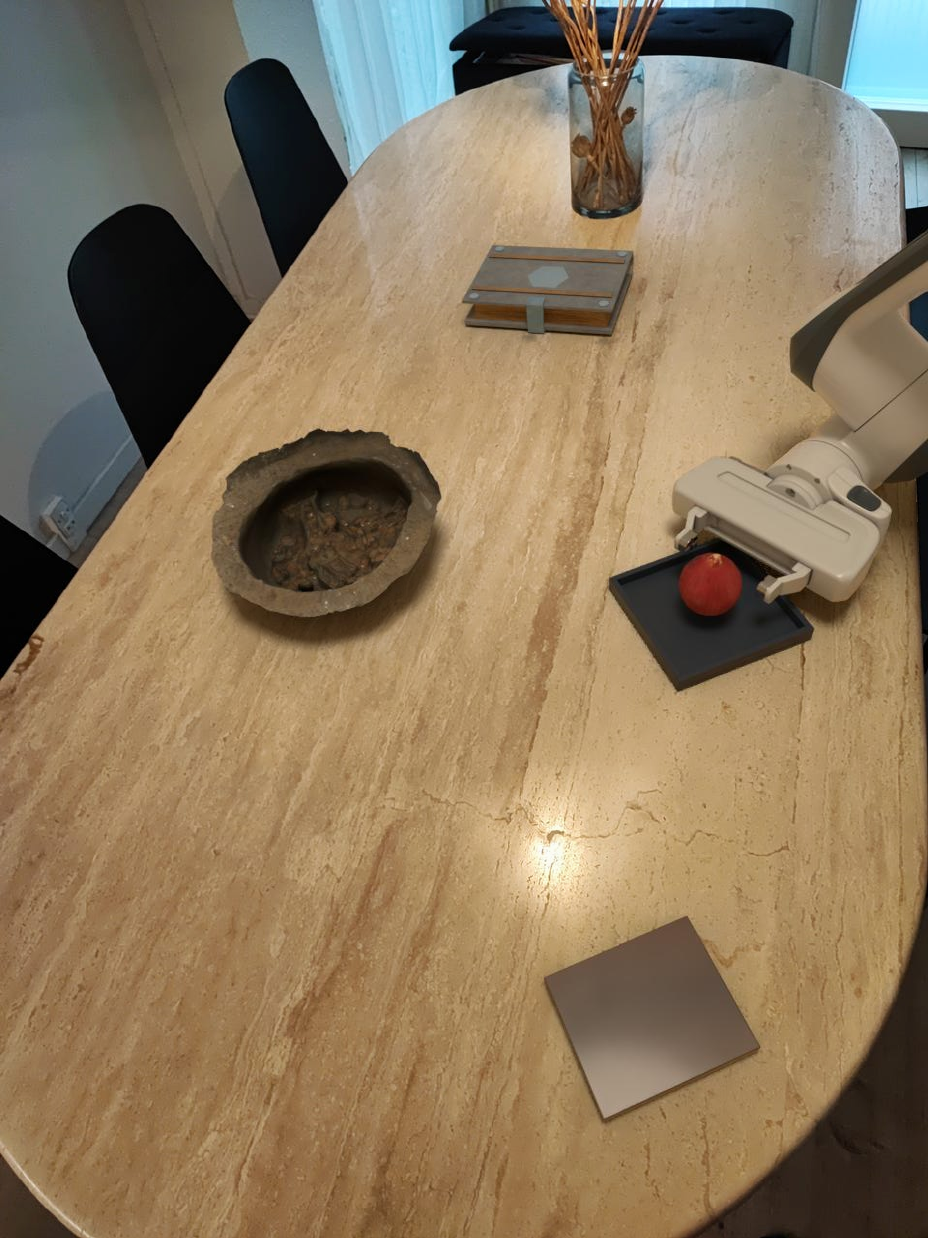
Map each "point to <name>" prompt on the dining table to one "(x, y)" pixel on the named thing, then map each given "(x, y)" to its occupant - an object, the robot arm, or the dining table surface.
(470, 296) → the book
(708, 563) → the onion
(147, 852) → the dining table surface
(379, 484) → the stone bowl
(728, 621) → the tray
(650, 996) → the board
